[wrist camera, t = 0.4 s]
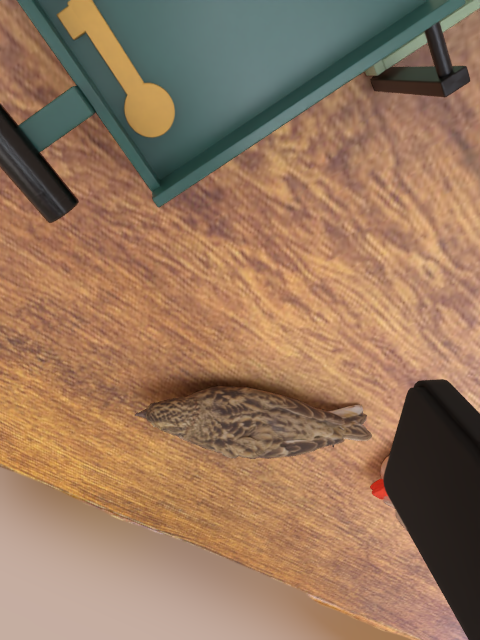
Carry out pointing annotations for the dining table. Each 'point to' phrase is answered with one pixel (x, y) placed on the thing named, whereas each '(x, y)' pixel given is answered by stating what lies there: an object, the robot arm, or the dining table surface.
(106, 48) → the key
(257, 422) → the bird model
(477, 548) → the robot arm
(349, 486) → the dining table surface
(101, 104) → the scoop
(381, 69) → the tray
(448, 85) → the stand
